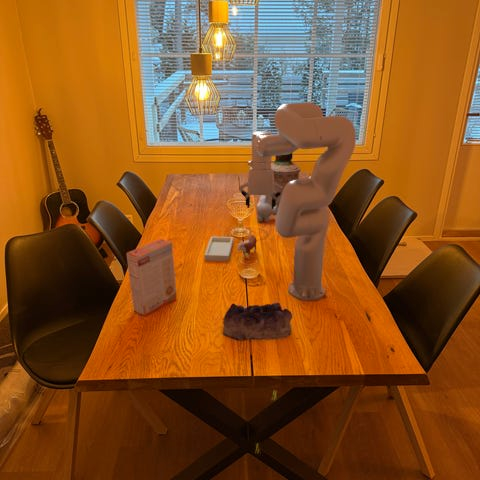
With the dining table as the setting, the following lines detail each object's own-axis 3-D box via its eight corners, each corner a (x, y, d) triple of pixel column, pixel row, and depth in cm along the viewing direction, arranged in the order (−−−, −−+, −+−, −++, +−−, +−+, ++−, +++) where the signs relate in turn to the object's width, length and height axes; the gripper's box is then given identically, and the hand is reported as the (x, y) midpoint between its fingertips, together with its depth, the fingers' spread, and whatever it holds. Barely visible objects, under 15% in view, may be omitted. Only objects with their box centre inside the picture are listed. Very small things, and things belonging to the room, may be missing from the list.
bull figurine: (235, 261, 174) (234, 242, 170) (250, 249, 184) (250, 231, 181) (245, 264, 172) (245, 245, 168) (259, 251, 183) (260, 233, 179)
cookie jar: (303, 212, 225) (307, 150, 213) (256, 210, 229) (256, 149, 216) (304, 198, 248) (307, 140, 235) (261, 196, 251) (262, 139, 239)
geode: (225, 349, 123) (222, 316, 121) (221, 330, 134) (219, 299, 132) (296, 340, 126) (295, 308, 123) (286, 322, 137) (285, 292, 134)
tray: (228, 261, 174) (228, 255, 173) (204, 260, 174) (204, 255, 173) (233, 242, 191) (233, 237, 190) (211, 241, 191) (211, 236, 190)
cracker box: (165, 293, 151) (160, 237, 143) (177, 299, 148) (173, 242, 139) (132, 310, 141) (125, 251, 133) (144, 317, 138) (138, 257, 129)
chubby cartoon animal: (282, 223, 211) (283, 206, 208) (256, 223, 212) (256, 206, 208) (281, 218, 218) (282, 201, 215) (256, 218, 218) (256, 201, 215)
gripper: (237, 166, 164) (237, 209, 171) (284, 168, 163) (282, 211, 170) (239, 161, 171) (239, 203, 178) (284, 163, 169) (282, 205, 176)
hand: (260, 207), depth 174 cm, fingers open, 9 cm apart
